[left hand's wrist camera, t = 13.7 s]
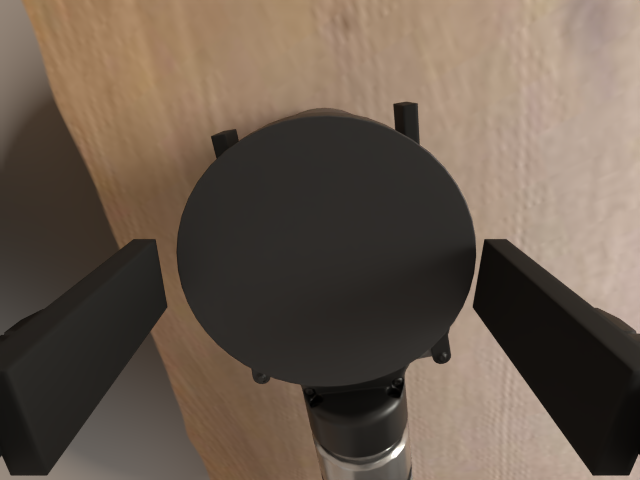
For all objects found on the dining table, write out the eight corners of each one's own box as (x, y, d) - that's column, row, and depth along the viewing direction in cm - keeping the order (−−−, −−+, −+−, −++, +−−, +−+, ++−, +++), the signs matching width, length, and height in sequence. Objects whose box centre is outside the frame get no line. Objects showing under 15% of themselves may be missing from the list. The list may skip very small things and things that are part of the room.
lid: (263, 382, 17) (256, 415, 15) (143, 178, 14) (116, 191, 12) (484, 311, 16) (504, 340, 14) (413, 61, 12) (429, 56, 10)
